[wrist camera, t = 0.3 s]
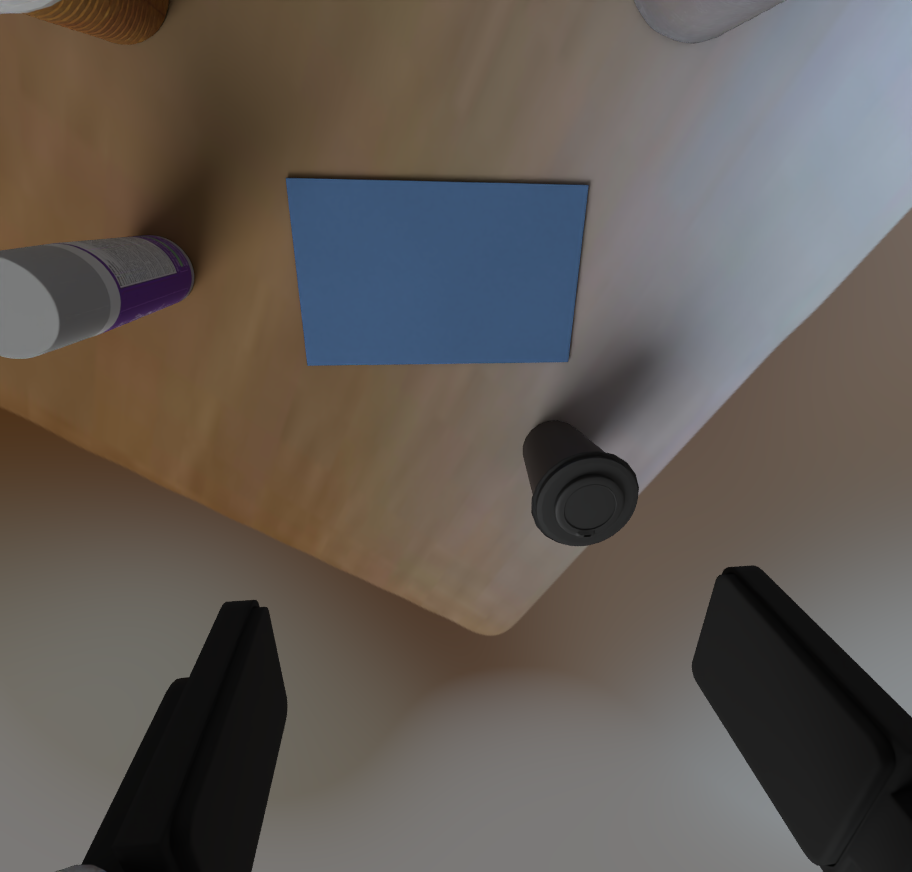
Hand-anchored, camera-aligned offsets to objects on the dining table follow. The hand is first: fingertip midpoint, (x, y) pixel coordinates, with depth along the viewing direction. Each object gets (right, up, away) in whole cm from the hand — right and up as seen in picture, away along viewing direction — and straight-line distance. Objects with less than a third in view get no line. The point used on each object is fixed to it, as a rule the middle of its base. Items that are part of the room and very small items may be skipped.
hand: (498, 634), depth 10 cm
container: (-22, +16, +24) cm, 36 cm away
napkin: (-2, +16, +26) cm, 31 cm away
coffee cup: (+8, +3, +34) cm, 35 cm away
